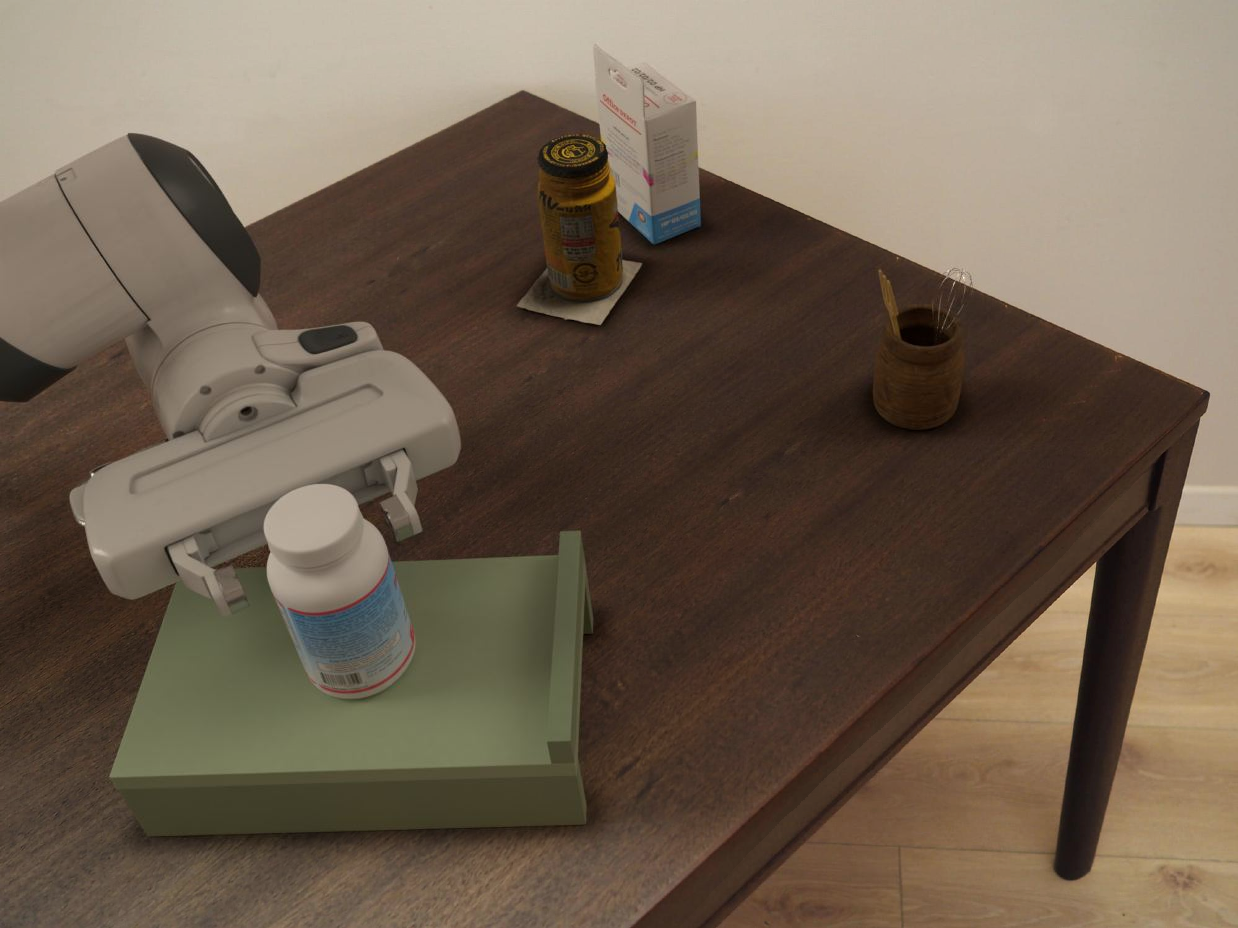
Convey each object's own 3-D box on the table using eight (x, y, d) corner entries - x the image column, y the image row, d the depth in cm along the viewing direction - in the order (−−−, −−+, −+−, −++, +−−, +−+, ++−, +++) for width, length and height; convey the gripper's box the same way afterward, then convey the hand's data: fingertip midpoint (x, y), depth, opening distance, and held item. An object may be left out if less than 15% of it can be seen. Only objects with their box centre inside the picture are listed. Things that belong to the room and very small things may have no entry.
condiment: (642, 265, 104) (632, 133, 95) (600, 327, 98) (586, 193, 90) (562, 250, 106) (545, 120, 98) (516, 309, 101) (495, 177, 92)
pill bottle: (439, 639, 70) (399, 497, 62) (367, 721, 66) (315, 581, 58) (356, 598, 72) (307, 456, 65) (282, 674, 69) (222, 535, 61)
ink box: (704, 227, 107) (698, 63, 97) (653, 247, 105) (641, 83, 95) (653, 182, 112) (642, 24, 102) (604, 201, 111) (588, 41, 101)
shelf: (147, 836, 69) (94, 755, 64) (210, 632, 79) (168, 547, 74) (586, 825, 68) (570, 740, 62) (593, 618, 78) (580, 530, 72)
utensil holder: (973, 420, 88) (996, 279, 79) (889, 443, 87) (903, 302, 78) (934, 369, 92) (952, 229, 83) (853, 390, 91) (863, 250, 82)
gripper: (40, 442, 68) (96, 612, 59) (392, 310, 74) (491, 446, 65) (83, 522, 73) (141, 692, 64) (412, 391, 79) (508, 528, 70)
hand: (322, 566), depth 65 cm, fingers open, 8 cm apart
